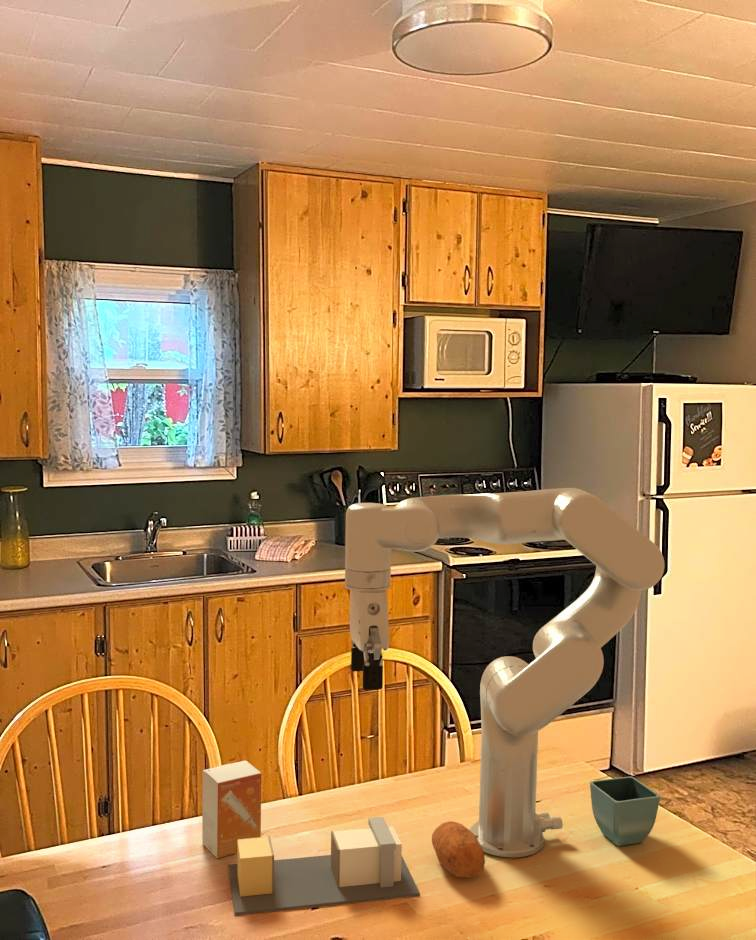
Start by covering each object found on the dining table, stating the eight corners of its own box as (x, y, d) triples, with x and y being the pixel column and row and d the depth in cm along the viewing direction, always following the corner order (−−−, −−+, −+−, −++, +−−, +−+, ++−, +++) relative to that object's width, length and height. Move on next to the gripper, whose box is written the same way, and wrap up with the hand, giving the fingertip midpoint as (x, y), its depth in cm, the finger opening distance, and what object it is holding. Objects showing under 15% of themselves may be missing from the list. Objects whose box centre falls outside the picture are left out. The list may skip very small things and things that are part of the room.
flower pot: (630, 823, 171) (632, 775, 170) (659, 846, 163) (661, 796, 162) (586, 830, 169) (588, 781, 168) (614, 854, 160) (616, 802, 159)
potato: (445, 890, 148) (446, 846, 148) (425, 850, 161) (426, 809, 160) (490, 886, 150) (491, 842, 149) (466, 846, 162) (467, 806, 161)
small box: (217, 860, 156) (217, 783, 155) (201, 843, 162) (201, 769, 160) (262, 847, 161) (262, 772, 160) (245, 831, 166) (245, 759, 165)
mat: (398, 850, 160) (398, 848, 160) (419, 895, 147) (420, 893, 147) (228, 867, 154) (228, 864, 154) (234, 915, 141) (234, 912, 141)
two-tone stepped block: (389, 857, 157) (390, 816, 157) (403, 886, 149) (404, 842, 148) (329, 863, 155) (329, 821, 154) (339, 892, 146) (339, 848, 146)
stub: (269, 873, 152) (269, 836, 151) (274, 893, 146) (274, 855, 145) (237, 876, 151) (237, 839, 150) (240, 897, 145) (240, 858, 144)
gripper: (402, 589, 151) (400, 695, 153) (378, 567, 168) (377, 663, 169) (355, 591, 149) (354, 698, 151) (336, 568, 166) (335, 665, 168)
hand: (366, 679), depth 160 cm, fingers open, 9 cm apart
